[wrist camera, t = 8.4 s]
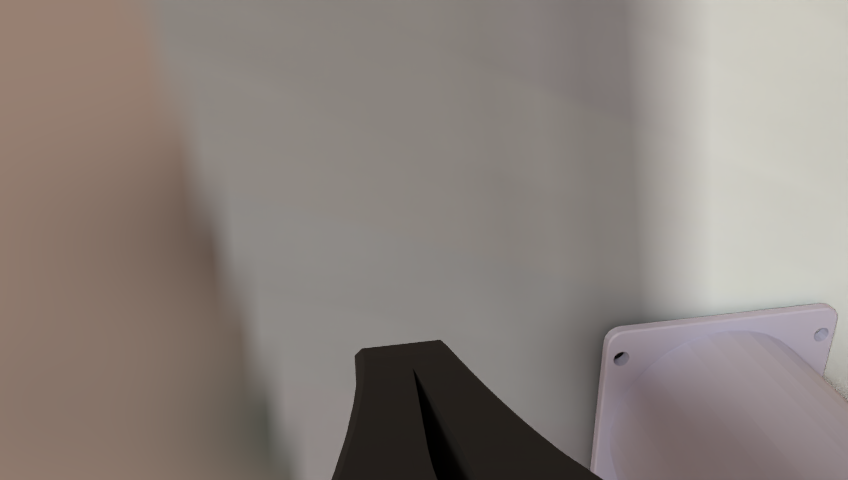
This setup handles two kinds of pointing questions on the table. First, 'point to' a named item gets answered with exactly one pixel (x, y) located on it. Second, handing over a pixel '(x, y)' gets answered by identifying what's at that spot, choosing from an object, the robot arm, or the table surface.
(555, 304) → the table surface
